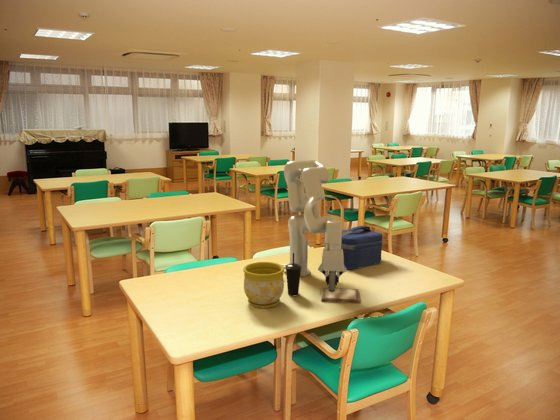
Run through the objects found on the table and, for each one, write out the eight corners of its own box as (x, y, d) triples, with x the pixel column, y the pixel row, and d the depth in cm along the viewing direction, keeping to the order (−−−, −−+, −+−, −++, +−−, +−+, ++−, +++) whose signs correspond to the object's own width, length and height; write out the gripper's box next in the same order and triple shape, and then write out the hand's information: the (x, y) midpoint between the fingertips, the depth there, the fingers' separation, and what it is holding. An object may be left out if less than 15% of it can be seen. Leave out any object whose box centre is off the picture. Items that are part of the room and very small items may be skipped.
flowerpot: (269, 314, 184) (269, 277, 181) (235, 305, 194) (234, 270, 190) (291, 300, 199) (291, 265, 196) (258, 292, 209) (258, 259, 205)
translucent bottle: (327, 291, 206) (328, 265, 203) (328, 288, 209) (328, 262, 207) (335, 292, 205) (336, 265, 203) (335, 289, 209) (336, 262, 206)
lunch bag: (362, 253, 272) (364, 220, 268) (389, 261, 255) (391, 227, 251) (325, 262, 254) (326, 227, 250) (351, 272, 237) (352, 235, 233)
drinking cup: (289, 298, 202) (290, 256, 198) (282, 292, 208) (282, 252, 204) (304, 295, 205) (304, 254, 201) (296, 289, 212) (296, 250, 208)
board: (321, 301, 198) (321, 298, 198) (322, 289, 212) (322, 286, 212) (359, 303, 196) (359, 300, 196) (358, 291, 210) (358, 288, 210)
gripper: (314, 248, 200) (314, 286, 204) (351, 249, 198) (350, 287, 202) (315, 243, 208) (314, 280, 211) (350, 244, 206) (349, 282, 209)
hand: (332, 283), depth 206 cm, fingers closed on translucent bottle, 3 cm apart
